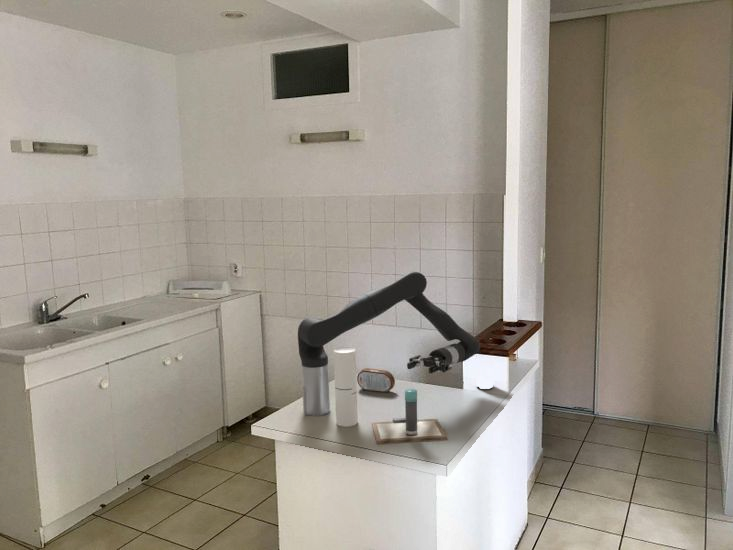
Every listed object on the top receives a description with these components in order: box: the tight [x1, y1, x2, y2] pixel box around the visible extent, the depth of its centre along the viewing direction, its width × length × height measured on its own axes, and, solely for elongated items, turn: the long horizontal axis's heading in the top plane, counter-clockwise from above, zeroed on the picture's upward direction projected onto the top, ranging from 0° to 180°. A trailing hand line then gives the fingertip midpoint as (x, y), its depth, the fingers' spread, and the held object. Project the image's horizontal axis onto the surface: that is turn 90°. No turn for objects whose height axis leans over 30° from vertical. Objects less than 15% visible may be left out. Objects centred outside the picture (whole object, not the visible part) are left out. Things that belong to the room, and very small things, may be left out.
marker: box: [404, 388, 418, 436], centre depth 189 cm, size 4×4×14 cm
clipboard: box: [371, 417, 448, 445], centre depth 194 cm, size 22×15×2 cm
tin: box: [356, 367, 396, 393], centre depth 234 cm, size 15×3×8 cm, turn 66°
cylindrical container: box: [333, 346, 359, 428], centre depth 202 cm, size 7×7×25 cm
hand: (418, 368), depth 202 cm, fingers open, 8 cm apart
